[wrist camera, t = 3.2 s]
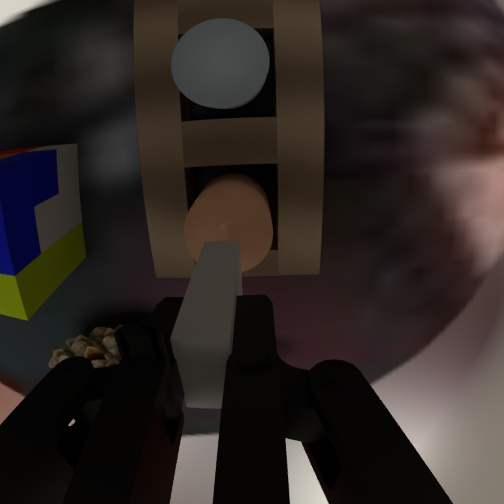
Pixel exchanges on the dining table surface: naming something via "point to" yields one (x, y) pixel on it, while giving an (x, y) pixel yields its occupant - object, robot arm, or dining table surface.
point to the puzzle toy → (38, 225)
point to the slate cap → (220, 63)
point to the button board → (232, 129)
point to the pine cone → (91, 348)
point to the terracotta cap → (231, 218)
